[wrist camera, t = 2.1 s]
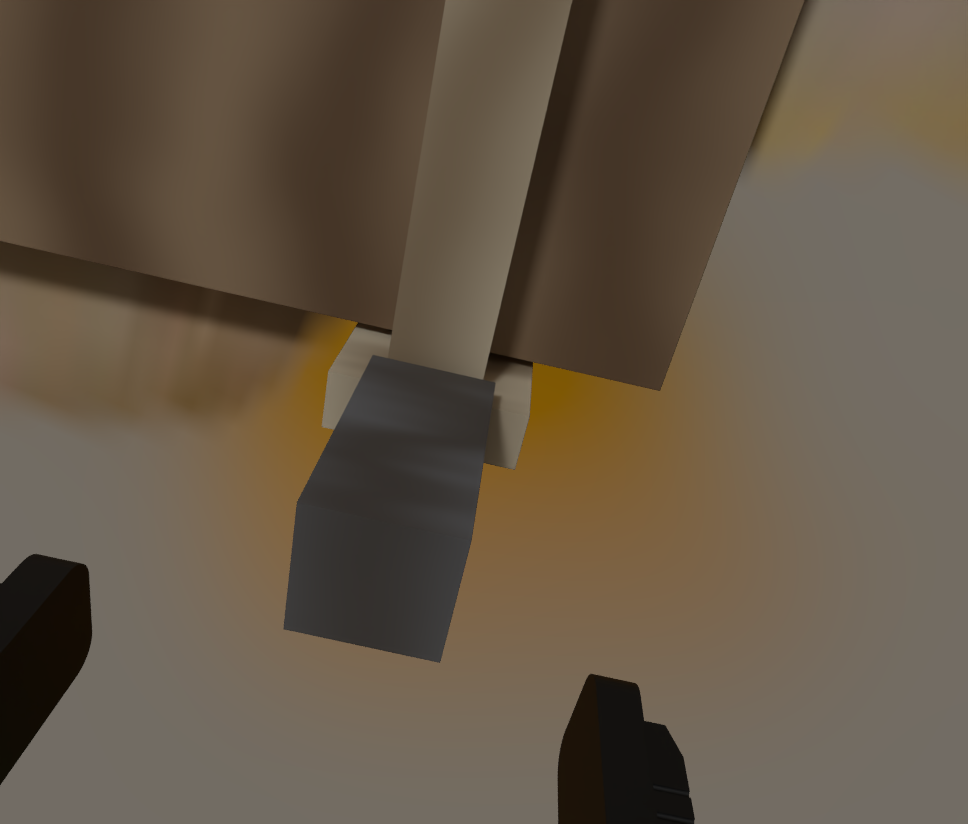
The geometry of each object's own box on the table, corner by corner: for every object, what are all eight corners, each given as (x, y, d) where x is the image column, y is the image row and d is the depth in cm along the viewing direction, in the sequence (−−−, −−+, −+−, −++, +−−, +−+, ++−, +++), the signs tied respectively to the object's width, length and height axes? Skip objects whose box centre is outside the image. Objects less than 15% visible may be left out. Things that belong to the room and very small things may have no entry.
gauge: (651, -92, 16) (761, -196, 8) (515, 416, 23) (491, 674, 14) (429, -147, 16) (284, -316, 8) (355, 380, 23) (230, 618, 14)
